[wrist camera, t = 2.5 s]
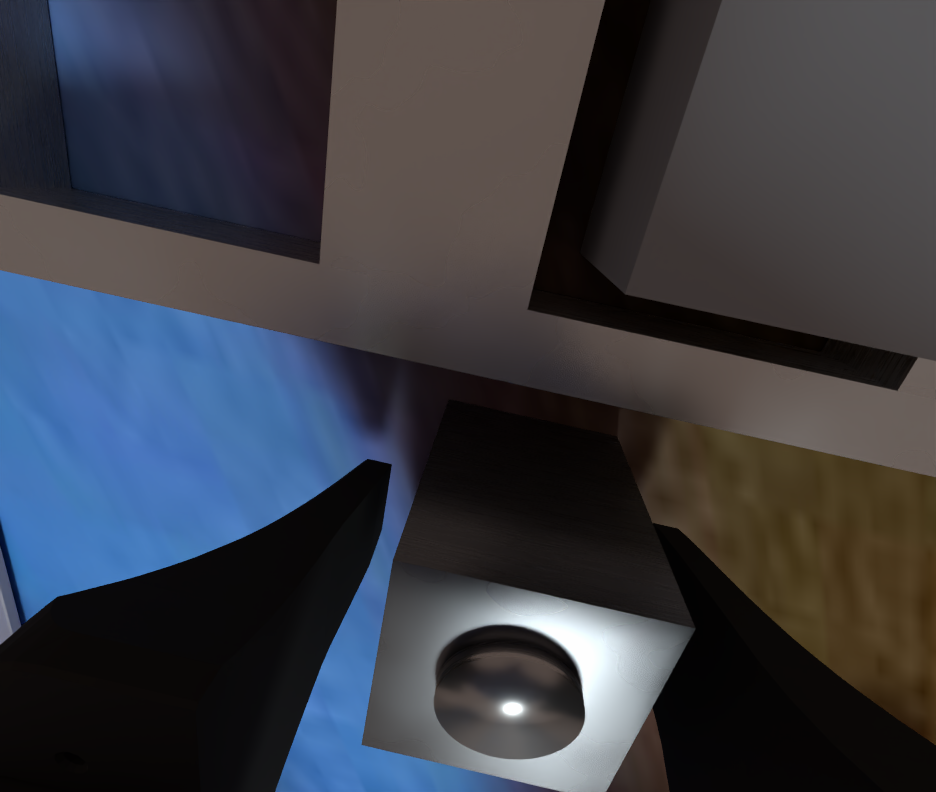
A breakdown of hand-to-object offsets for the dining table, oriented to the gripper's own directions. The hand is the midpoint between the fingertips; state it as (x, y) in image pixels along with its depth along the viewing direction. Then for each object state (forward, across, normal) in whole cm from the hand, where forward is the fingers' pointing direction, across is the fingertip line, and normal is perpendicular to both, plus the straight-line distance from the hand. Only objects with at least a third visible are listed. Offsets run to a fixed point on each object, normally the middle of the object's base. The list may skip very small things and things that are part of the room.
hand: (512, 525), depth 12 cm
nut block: (+2, 0, 0) cm, 2 cm away
